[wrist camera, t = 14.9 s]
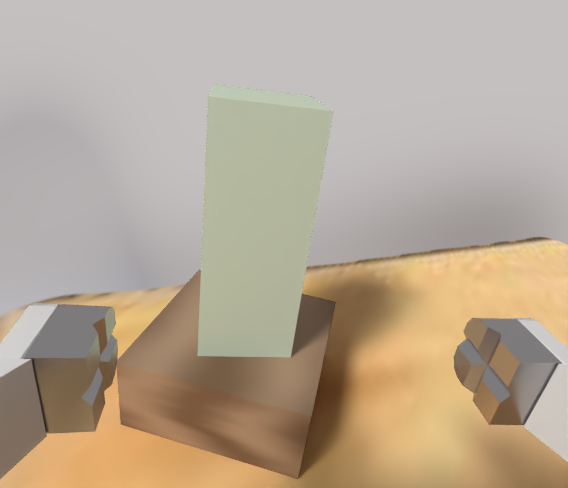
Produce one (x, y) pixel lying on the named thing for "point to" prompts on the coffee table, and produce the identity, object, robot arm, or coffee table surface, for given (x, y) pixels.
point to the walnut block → (224, 386)
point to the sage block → (258, 217)
